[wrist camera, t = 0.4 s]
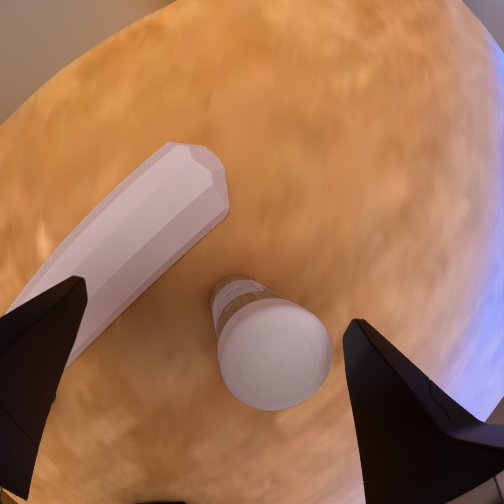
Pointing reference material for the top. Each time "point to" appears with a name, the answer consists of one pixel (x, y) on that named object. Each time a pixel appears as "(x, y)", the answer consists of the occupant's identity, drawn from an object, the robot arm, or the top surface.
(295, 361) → the sprinkles bottle
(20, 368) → the robot arm
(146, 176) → the light grey faceted bar
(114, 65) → the top surface
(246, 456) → the top surface
